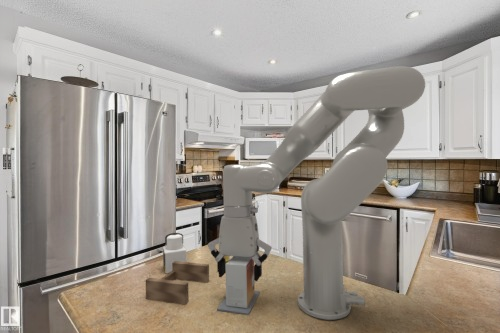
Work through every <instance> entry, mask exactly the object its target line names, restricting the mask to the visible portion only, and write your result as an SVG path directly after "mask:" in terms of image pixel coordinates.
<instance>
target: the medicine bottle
mask: <svg viewBox="0 0 500 333" xmlns="http://www.w3.org/2000/svg"><path fill="white" fill-rule="evenodd" d="M164 238H165V241H164V242H165V243H164V244H165V245H164V246H163V247H162V250H163V251H162V257H163V259H162V260H163V262H162V265H163V270H164V271H163V272H164V274H165V275H167V274H168V273H170V272H171V271H172V263H173V262H174V261H178V262H187V249H186V247H185V244H184V235H183V234H182V233H180V232H173V233H169V234H167V235H166V236H165V237H164Z"/></svg>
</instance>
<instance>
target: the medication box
mask: <svg viewBox="0 0 500 333" xmlns="http://www.w3.org/2000/svg"><path fill="white" fill-rule="evenodd" d="M230 257H231V256H226V255H225V256H224V258H225V264H226V263H227V262H228V261H229V260H230V259H231V258H230Z"/></svg>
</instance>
